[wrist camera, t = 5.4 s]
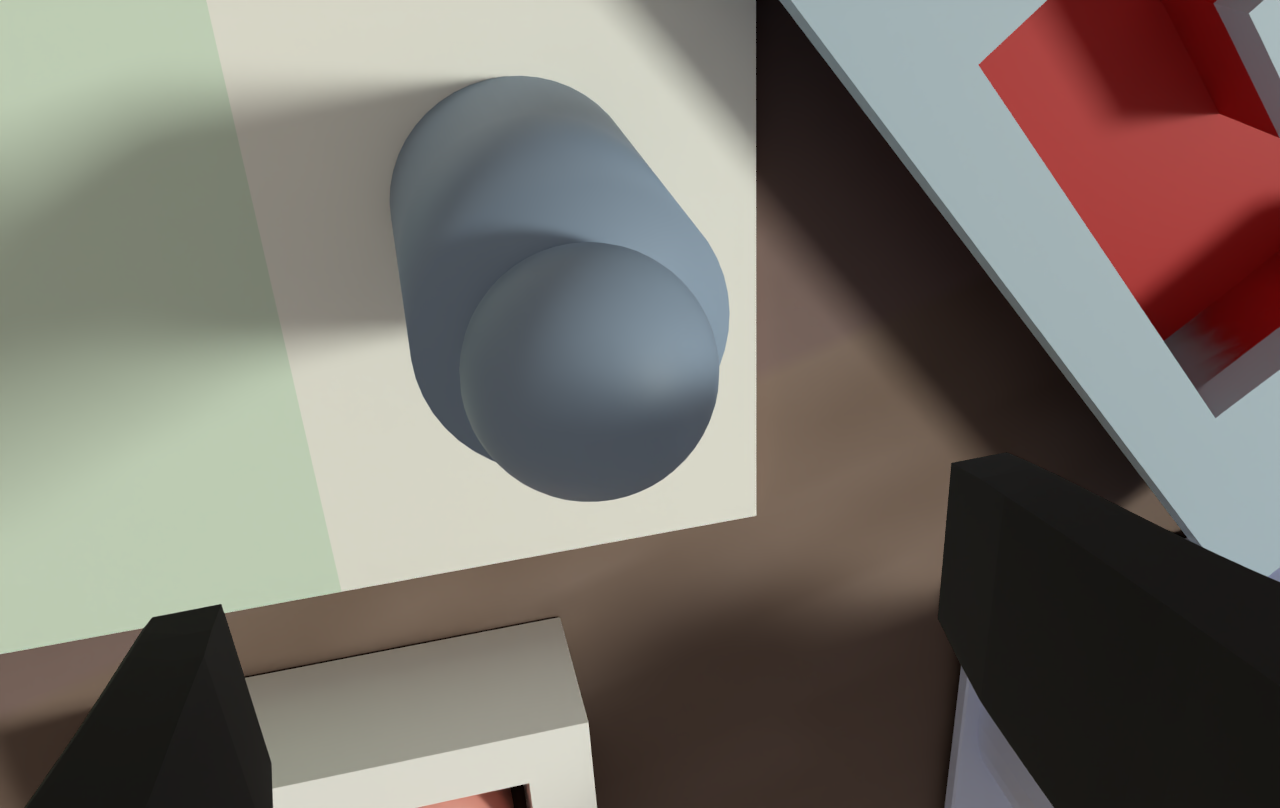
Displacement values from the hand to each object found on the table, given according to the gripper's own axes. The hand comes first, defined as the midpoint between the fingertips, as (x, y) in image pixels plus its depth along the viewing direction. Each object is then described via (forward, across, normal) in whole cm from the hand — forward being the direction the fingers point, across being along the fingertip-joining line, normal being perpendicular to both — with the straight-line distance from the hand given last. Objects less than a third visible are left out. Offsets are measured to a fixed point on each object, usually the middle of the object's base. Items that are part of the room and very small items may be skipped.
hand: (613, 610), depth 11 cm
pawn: (+9, 0, -1) cm, 9 cm away
